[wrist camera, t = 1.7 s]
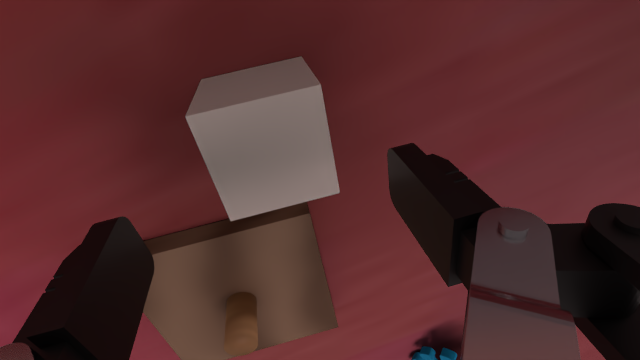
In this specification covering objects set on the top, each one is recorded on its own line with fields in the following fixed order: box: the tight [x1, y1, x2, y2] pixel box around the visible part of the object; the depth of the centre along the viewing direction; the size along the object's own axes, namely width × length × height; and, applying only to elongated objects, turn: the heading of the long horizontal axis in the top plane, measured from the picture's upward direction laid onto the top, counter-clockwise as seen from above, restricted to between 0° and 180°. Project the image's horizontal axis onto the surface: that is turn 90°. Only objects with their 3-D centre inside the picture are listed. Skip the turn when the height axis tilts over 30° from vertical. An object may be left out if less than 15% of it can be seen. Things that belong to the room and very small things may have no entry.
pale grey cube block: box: [185, 56, 340, 221], centre depth 15 cm, size 5×5×5 cm
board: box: [143, 202, 338, 360], centre depth 22 cm, size 12×12×5 cm
